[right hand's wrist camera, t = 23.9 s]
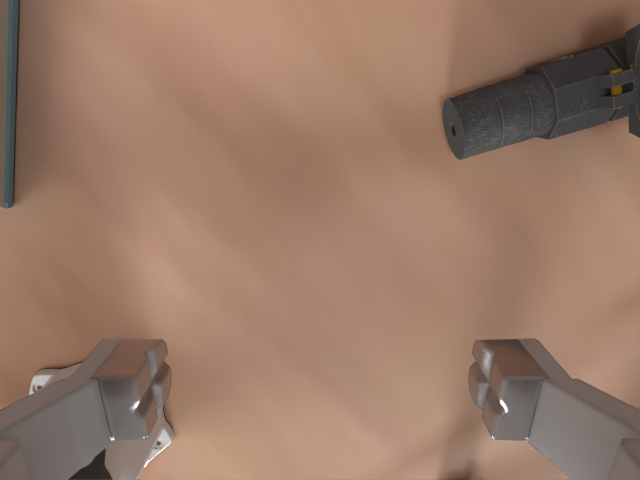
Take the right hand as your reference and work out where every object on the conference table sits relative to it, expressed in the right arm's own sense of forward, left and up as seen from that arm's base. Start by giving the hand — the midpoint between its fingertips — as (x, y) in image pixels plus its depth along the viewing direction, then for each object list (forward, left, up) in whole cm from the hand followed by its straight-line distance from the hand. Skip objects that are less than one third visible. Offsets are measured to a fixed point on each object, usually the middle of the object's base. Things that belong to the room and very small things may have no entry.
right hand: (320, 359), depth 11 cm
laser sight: (+18, -15, -32) cm, 40 cm away
